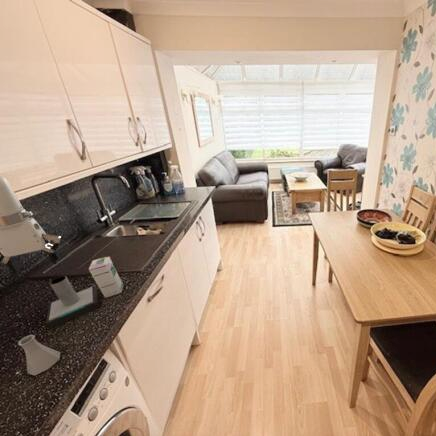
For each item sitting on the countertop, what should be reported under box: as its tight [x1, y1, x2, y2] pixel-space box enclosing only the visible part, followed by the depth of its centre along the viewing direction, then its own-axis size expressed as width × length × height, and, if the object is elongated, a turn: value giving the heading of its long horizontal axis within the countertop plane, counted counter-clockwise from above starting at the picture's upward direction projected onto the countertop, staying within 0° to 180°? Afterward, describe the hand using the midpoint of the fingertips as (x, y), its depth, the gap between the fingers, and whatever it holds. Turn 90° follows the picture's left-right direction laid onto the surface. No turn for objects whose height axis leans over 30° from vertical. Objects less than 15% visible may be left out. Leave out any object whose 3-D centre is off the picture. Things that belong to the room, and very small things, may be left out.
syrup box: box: [88, 255, 124, 299], centre depth 92 cm, size 6×6×14 cm
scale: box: [45, 285, 100, 330], centre depth 88 cm, size 14×12×3 cm
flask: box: [17, 334, 61, 376], centre depth 67 cm, size 7×7×10 cm
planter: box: [49, 275, 79, 306], centre depth 85 cm, size 4×4×10 cm
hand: (37, 266), depth 77 cm, fingers open, 9 cm apart
